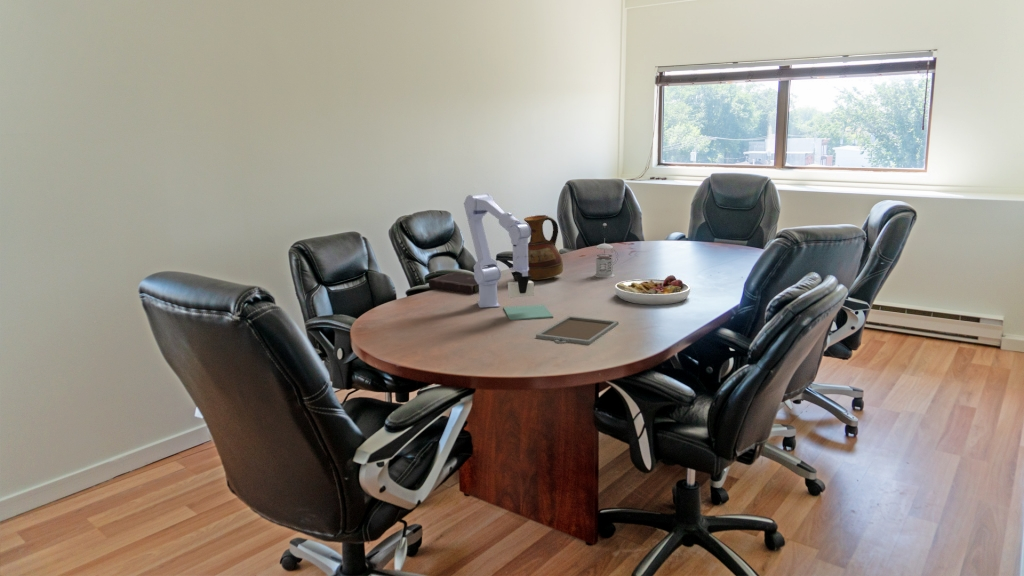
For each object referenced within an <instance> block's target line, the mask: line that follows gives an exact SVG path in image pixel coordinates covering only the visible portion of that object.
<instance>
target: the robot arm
mask: <svg viewBox="0 0 1024 576" xmlns="http://www.w3.org/2000/svg"><path fill="white" fill-rule="evenodd" d="M494 200H495V199H494V197H493V196H491V194H489V193H482V194H472V195H471V194H469V195H467V196H466V197H465V200H464V202H463V207H464V210H465V214H466V217H467V222H468V228H469V231H470V234H471V239H472V242H473V247H474V251H475V255H476V260H477V261H476V263H475V264H474V265H473V275H474V278H475V280H476V282H477V284H479V292H478V296H479V297H478V298H479V299H478V301H477V302H476V303H477V305H478V308H481V309H482V308H495V307H496V308H497V307H498V308H499V307H500V303H499V302H498V284H499V280H500V279H501V277H502V271H501V269H500V267H499V264H498V262H497V261H496V259H494V258H492V256H491V253H490V249H489V243H488V239H487V236H486V232H485V228H484V224H483V218H484V216H486V215H487V213H489V214H491V215H492V216H493V217H494V218H496V219H497V220H498V224H499V226H501V227H502V228H503V229H504V230H505V231H507V232H508V236H509V238H510V243H511V245H512V267H510V268H509V270H510V271H511V272H510V273H511V275H512V278H513V280H514V282H518V286H519V292H520V293H526V289H527V284H528V281H530V280H531V279H530V277H531V275H528V270H529V267H528V243H529V239H530V238H531V228H530V226H529V225H528V223H527V222H522V221H521V220H519V219H518V218H517V217H515V216H514V215H513V213H512V212H508V211H507V212H505V211H504V210H503V209H502V208H501V207H500V206H499V205H498V204H497V203H496V202H495V201H494Z"/></svg>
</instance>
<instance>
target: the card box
mask: <svg viewBox="0 0 1024 576" xmlns="http://www.w3.org/2000/svg"><path fill="white" fill-rule="evenodd" d="M507 296H508V297H509V298H510V299H512V298H513V299H515V298H524V297H526V298H527V297H534V296H535V284H534V281H532V280H529V281H528V284H527V289H526V293H520V292H519V286H518V282H515V281H507Z"/></svg>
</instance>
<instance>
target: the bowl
mask: <svg viewBox="0 0 1024 576" xmlns="http://www.w3.org/2000/svg"><path fill="white" fill-rule="evenodd" d="M614 291H615V295H617V297H619V299H621V300H623V301H625V302H629V303H632V304H639V305H647V306H650V305H651V306H653V305H654V306H656V305H659V306H660V305H662V306H663V305H671V304H676V303H680V302H682V301H684V300H685V299H687V297H688V296H689V294H690V292H691V287H690V286H689V285H688V284H687V283H685V282H683V281H682V279H677V277H675V276H674V275H667V277H665V278H663V279H660V278H659V279H658V278H639V279H637V278H636V279H628V280H623V281H619V282H617V283H616V284H615V285H614Z"/></svg>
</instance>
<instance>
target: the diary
mask: <svg viewBox="0 0 1024 576" xmlns="http://www.w3.org/2000/svg"><path fill="white" fill-rule="evenodd" d="M428 287H429V289H432V290H439V291H446V292H452V293H458V294H466V295H470V296H471V295H474V294H477V293H479V284H477V282H476V280H475V278H474V274H470V273H465V272H457V271H455V272H450V273H446V274H443V275H440V276H438V277H433V278H430V279H429V280H428Z"/></svg>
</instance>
